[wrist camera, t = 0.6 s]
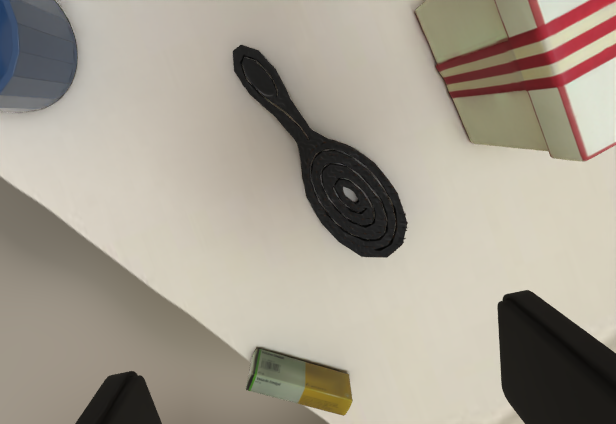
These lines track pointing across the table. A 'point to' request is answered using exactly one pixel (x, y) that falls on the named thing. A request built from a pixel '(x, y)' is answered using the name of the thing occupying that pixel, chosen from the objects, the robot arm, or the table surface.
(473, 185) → the table surface
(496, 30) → the gift box
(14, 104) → the crock
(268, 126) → the table surface
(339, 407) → the medication box
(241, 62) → the hairbrush
